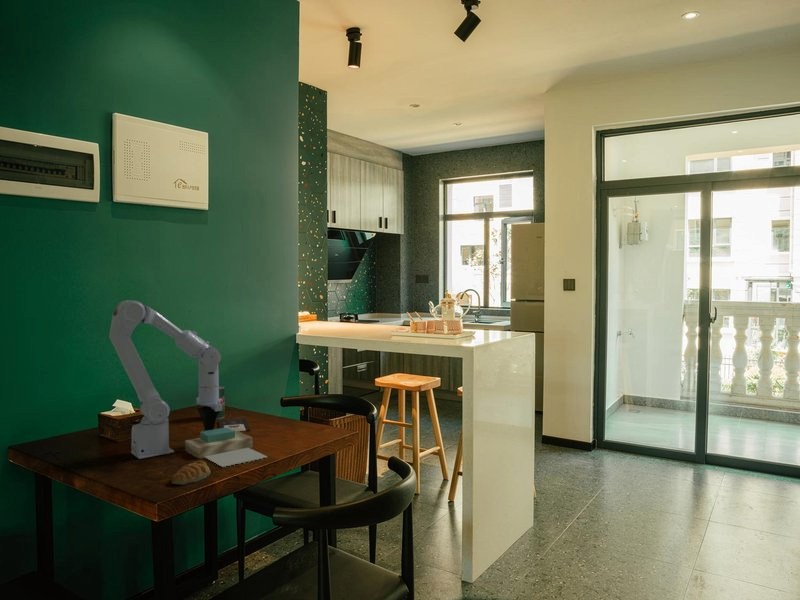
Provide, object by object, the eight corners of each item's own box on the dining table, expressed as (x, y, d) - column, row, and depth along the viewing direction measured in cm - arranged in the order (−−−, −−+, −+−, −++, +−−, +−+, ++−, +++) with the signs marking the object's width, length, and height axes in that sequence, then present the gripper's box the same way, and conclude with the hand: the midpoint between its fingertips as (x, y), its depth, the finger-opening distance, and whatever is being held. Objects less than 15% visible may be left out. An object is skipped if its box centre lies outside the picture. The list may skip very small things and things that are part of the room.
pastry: (186, 488, 132) (185, 472, 132) (163, 485, 135) (163, 469, 135) (212, 476, 141) (212, 460, 141) (191, 473, 143) (191, 458, 143)
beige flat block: (198, 458, 154) (198, 447, 154) (185, 450, 162) (185, 440, 162) (252, 447, 165) (252, 437, 165) (237, 440, 172) (237, 431, 172)
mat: (222, 468, 146) (222, 466, 146) (204, 457, 155) (204, 456, 155) (267, 458, 155) (267, 456, 155) (248, 448, 164) (248, 447, 164)
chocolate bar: (244, 417, 201) (250, 429, 184) (244, 420, 201) (250, 432, 184) (218, 420, 197) (221, 432, 181) (218, 422, 197) (221, 435, 181)
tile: (208, 443, 159) (208, 436, 159) (200, 438, 164) (200, 431, 164) (235, 437, 164) (235, 431, 164) (226, 434, 169) (226, 427, 169)
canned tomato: (229, 417, 204) (228, 387, 204) (209, 421, 198) (208, 390, 198) (217, 414, 209) (217, 384, 209) (197, 418, 203) (197, 387, 203)
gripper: (231, 387, 166) (232, 433, 166) (211, 381, 176) (212, 424, 177) (208, 390, 161) (209, 437, 161) (189, 384, 172) (189, 428, 172)
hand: (209, 431), depth 169 cm, fingers closed
